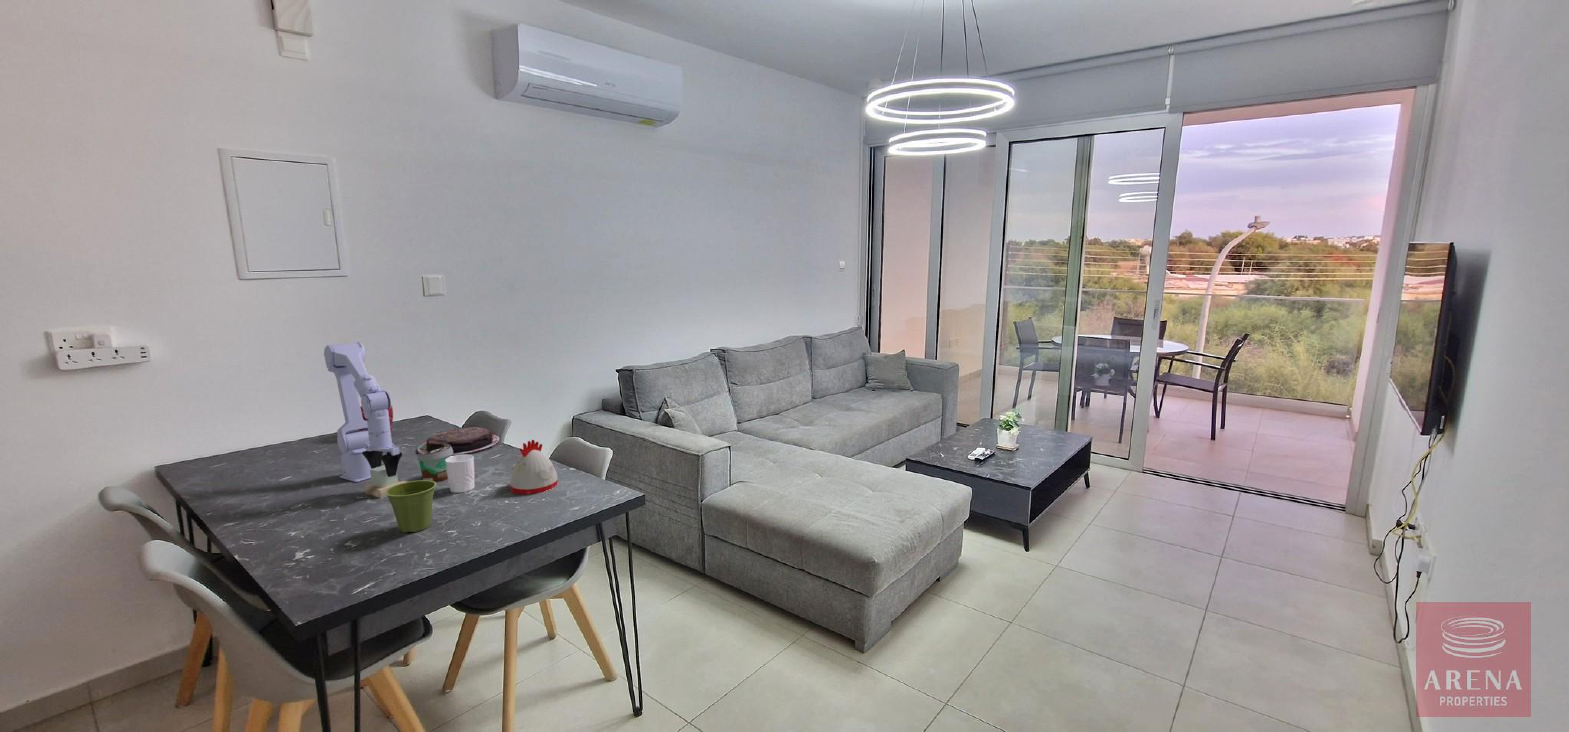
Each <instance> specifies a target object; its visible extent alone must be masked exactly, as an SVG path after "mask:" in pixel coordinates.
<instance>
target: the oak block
mask: <svg viewBox="0 0 1569 732" xmlns="http://www.w3.org/2000/svg"><path fill="white" fill-rule="evenodd" d="M405 482H407V481H406V480H402V479H398V483H394V484H391V485H388V486H385V487H382V488H381V487H377V486H374V485H372V483H368V484H365V485H364V490H365V492H364V493H365V494H366V495H368V496H369V495H370V496H372V497H376V498H379V499H383V498H386V497H388V496H387V495H386V494H385V491H386V490H387V489H388V488H390V487H392V486H394V485H397V484H401V483H405Z"/></svg>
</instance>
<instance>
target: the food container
mask: <svg viewBox="0 0 1569 732" xmlns="http://www.w3.org/2000/svg"><path fill="white" fill-rule="evenodd" d="M452 453H453V449H452V447H451V446H450V445H449V444H444V447H441V448H439V449H435V450H431V451H430V452H428V453H426V454H420V453H418V454H417V461H418V462H419V467H420V471H421V472H420V473H421V477H422V480H429V481H434V482H436V483H439V482H444V481H447V480H448V476H447V470H446V463H445V459H447V458H449V457H451V454H452Z"/></svg>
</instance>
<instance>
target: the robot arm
mask: <svg viewBox="0 0 1569 732" xmlns="http://www.w3.org/2000/svg"><path fill="white" fill-rule="evenodd" d="M323 351H324V352H323V356H324V361H325V365H326V368H327V371H328V372H330V373H333V374H334V376H335V378H336V384H337V388H338V393H339V398H340V403H341V407H342V413H343V417H344V421H345V422H344V423H343V425H341V426H340V427H339V428H338V429H337V431H336V436H337V438H336V440H337V446H338V449H339V451H340V452H341V453H342V454H341V457H340V462H341V470H342V475H340V476H339V478H341V479H344V480H348V481H351V482H355V483H358V482H362V481H366V480H368V479H371V475H370V469H373V468H376V467H380V466H383V465H385V468H386V473H387V475H388V477H392V476H395V475H396V473H397V474H398V465H399V462H400V460H401V458H402V456H403V452H401V451H400V447H397V446H396V445H395V444H394V442H393V440H392V433H391V430H390V428H391V427H390V421H389V413H388V410H387V409H390V407H391V406H392V401H391V397H390V394H389V392H388V391H387V390H385V389H384V388H381V387H380V384H379V383H378V381H377V379H376V377H375V376H374V375H371V374H369V373H368V370H367V368H366V365H365V359H366V354H367V353H366V349H365V346H364V344H363V343H361V342H360V341H358V342H354V343H353V342H351V343H341V344H331V345H330V344H327V345H326V346H325V347H324V350H323ZM359 397H360V399H359ZM361 406H362V408H363V411H364V416H365V418H366V419H367V421H364V420H363V417H362V413H361V408H360V407H361ZM359 429H365V430H360V431H359ZM355 430H356V431H355ZM384 453H386V454H384ZM382 462H383V465H382Z"/></svg>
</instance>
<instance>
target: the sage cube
mask: <svg viewBox="0 0 1569 732" xmlns="http://www.w3.org/2000/svg"><path fill="white" fill-rule="evenodd" d="M370 475H371V478H370V480H371V483H372V485H374V486H377V487H381V488H382V487H385V486H388V485H391V484H394V483H398V472H397V473H396V475H395V476H392V477H388V475H387V473H386V468H385V465H384V464H383V465H382V466H380V467H376V468H373V469H370ZM371 483H370V484H371Z"/></svg>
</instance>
